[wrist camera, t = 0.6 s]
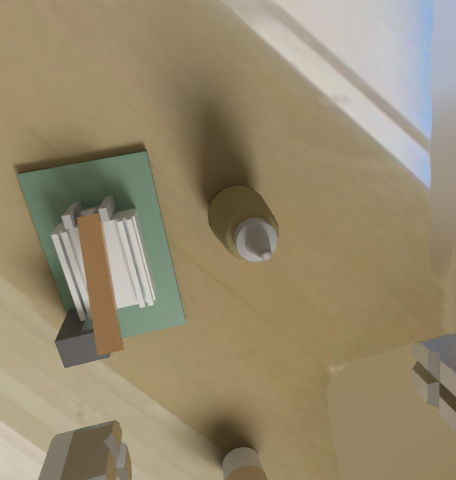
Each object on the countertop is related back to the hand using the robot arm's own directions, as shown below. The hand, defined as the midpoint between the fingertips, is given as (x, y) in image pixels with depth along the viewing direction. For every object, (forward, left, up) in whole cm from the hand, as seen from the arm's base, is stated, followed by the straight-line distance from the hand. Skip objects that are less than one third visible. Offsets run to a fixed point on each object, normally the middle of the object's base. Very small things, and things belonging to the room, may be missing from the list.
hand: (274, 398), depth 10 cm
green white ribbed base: (+10, -12, -43) cm, 46 cm away
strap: (+10, -12, -34) cm, 38 cm away
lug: (+19, -17, -42) cm, 49 cm away
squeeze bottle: (+7, +6, -44) cm, 45 cm away
